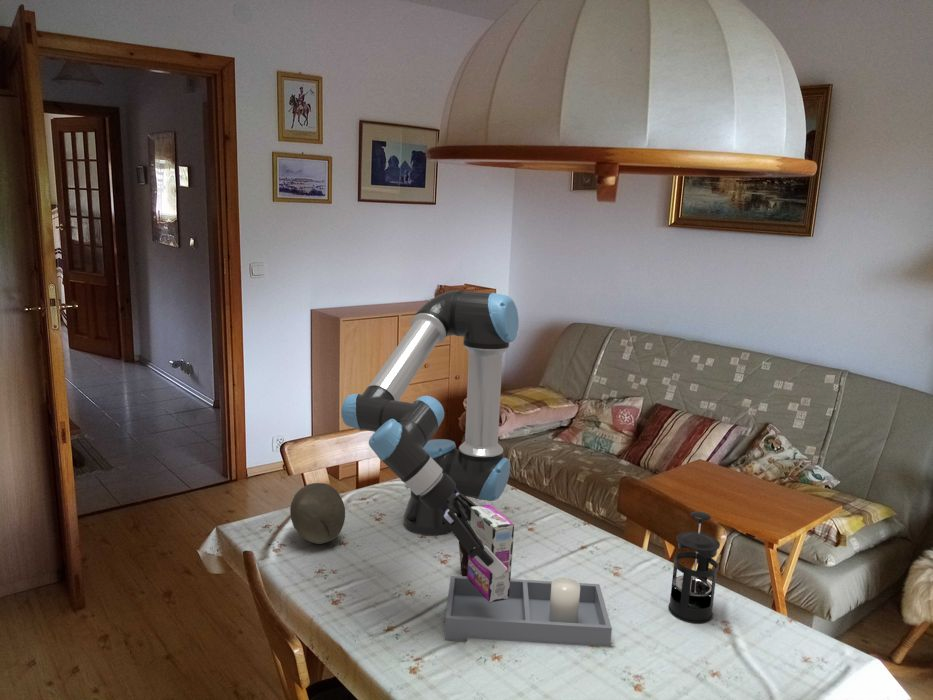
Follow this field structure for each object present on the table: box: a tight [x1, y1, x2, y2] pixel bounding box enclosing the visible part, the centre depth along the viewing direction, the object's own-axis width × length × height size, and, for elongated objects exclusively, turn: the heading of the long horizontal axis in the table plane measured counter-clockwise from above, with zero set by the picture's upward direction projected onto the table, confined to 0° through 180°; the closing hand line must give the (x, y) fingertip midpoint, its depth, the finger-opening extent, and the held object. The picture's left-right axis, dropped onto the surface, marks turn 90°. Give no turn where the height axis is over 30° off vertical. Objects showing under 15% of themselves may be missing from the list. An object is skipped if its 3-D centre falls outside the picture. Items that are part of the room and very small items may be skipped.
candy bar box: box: [467, 504, 515, 602], centre depth 147 cm, size 11×5×16 cm, turn 25°
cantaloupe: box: [289, 482, 346, 545], centre depth 181 cm, size 14×14×15 cm
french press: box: [667, 511, 721, 625], centre depth 155 cm, size 12×9×23 cm
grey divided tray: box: [444, 575, 613, 648], centre depth 150 cm, size 17×33×5 cm, turn 88°
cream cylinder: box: [549, 577, 580, 623], centre depth 149 cm, size 6×6×8 cm
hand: (502, 558), depth 147 cm, fingers closed on candy bar box, 12 cm apart
